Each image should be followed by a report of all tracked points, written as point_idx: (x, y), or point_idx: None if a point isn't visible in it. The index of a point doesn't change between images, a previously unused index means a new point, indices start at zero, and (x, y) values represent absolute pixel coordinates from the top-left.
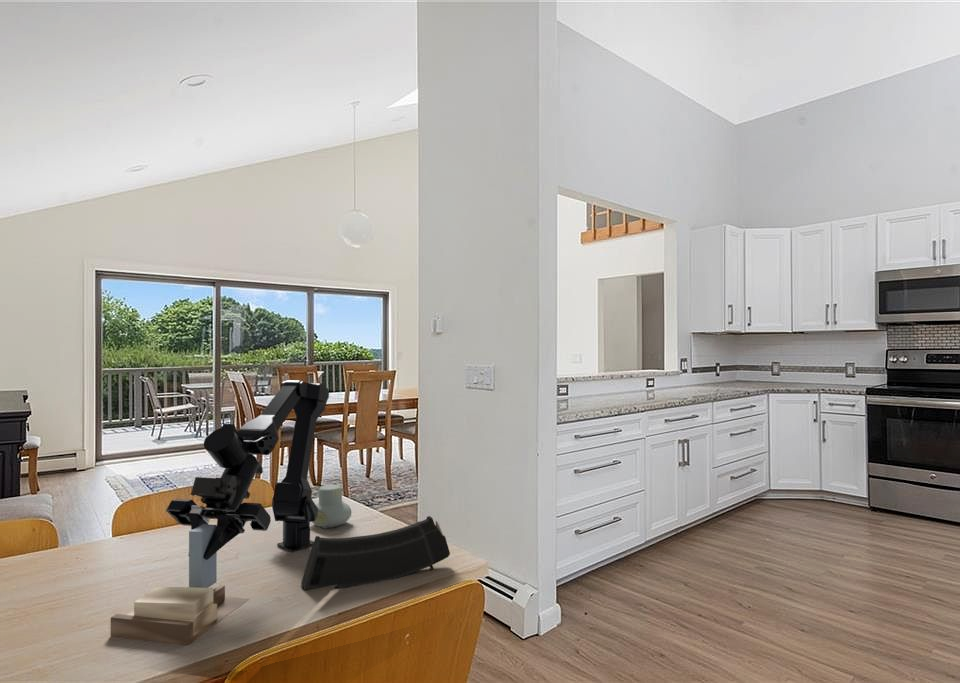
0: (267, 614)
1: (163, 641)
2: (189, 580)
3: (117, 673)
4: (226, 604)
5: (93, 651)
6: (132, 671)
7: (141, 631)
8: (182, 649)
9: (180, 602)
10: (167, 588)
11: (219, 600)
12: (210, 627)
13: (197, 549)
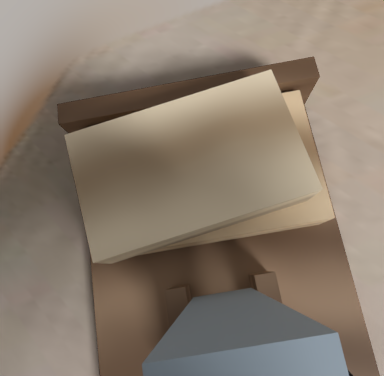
0: (11, 370)
1: None
2: (253, 290)
3: (159, 27)
4: (149, 353)
5: (291, 58)
6: (136, 41)
7: None
8: None
9: (117, 124)
10: (265, 191)
11: None
12: None
13: (211, 317)
